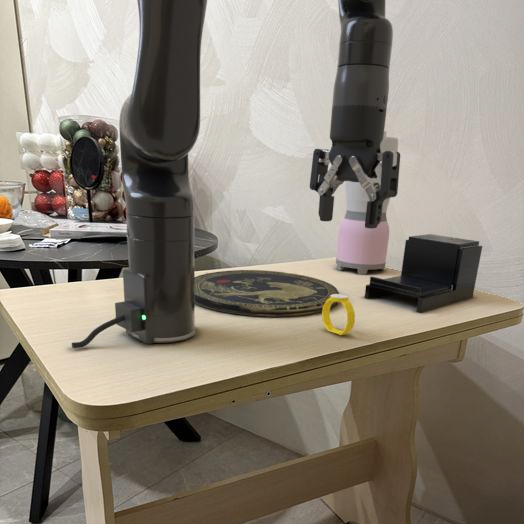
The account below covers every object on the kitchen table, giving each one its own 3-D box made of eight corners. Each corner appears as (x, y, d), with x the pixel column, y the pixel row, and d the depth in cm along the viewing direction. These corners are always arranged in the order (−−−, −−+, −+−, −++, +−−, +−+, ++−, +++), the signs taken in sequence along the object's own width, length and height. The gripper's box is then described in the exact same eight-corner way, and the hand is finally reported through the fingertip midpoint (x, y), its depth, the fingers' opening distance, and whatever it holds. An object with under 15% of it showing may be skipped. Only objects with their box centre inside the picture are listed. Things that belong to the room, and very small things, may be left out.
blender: (370, 277, 122) (387, 129, 111) (325, 268, 129) (338, 128, 118) (398, 268, 134) (416, 134, 123) (356, 261, 141) (370, 133, 130)
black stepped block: (420, 312, 95) (429, 249, 91) (364, 297, 103) (371, 239, 99) (472, 297, 107) (483, 241, 103) (419, 285, 116) (427, 233, 112)
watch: (356, 337, 80) (360, 299, 78) (343, 339, 78) (347, 301, 76) (330, 326, 84) (333, 290, 82) (317, 328, 83) (320, 292, 81)
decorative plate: (155, 278, 102) (270, 264, 121) (155, 288, 103) (270, 272, 121) (249, 318, 81) (372, 293, 99) (249, 329, 82) (371, 302, 100)
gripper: (303, 104, 75) (296, 220, 80) (387, 100, 65) (371, 232, 71) (336, 109, 79) (327, 218, 85) (419, 106, 70) (402, 229, 75)
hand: (347, 224), depth 78 cm, fingers open, 8 cm apart
